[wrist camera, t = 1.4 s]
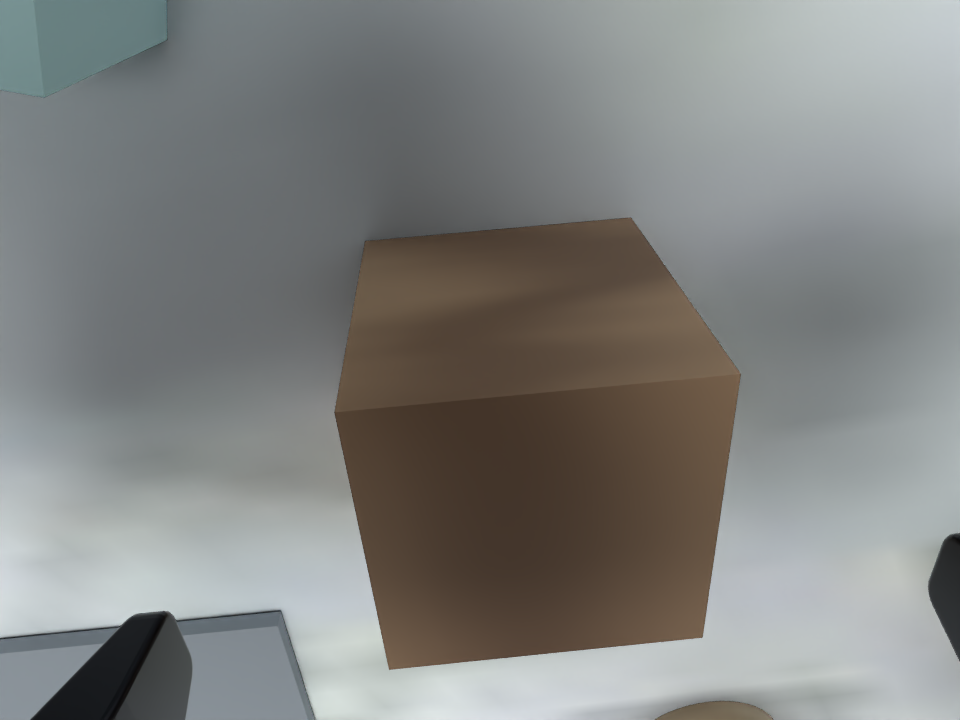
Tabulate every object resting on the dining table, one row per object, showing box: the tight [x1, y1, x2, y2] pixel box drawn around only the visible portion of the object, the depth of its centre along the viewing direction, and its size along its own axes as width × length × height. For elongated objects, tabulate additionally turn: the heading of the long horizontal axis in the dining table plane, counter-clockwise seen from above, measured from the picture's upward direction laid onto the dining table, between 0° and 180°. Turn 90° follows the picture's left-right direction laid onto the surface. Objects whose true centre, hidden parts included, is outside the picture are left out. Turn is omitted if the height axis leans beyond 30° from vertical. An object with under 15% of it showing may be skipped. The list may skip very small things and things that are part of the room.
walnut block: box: [334, 218, 741, 670], centre depth 11 cm, size 4×4×5 cm
